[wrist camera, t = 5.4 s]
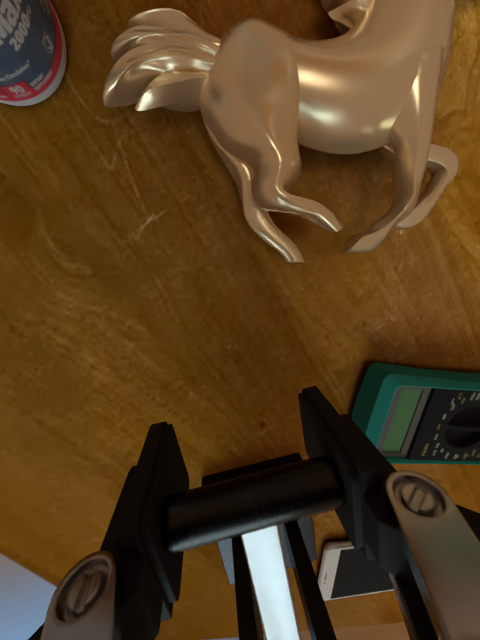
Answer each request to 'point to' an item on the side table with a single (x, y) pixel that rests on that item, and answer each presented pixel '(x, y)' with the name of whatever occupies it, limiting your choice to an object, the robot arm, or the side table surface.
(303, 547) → the switch bracket
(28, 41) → the pill bottle
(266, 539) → the switch lever
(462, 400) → the digital multimeter
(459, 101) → the side table surface
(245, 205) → the unicorn
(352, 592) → the smartphone
